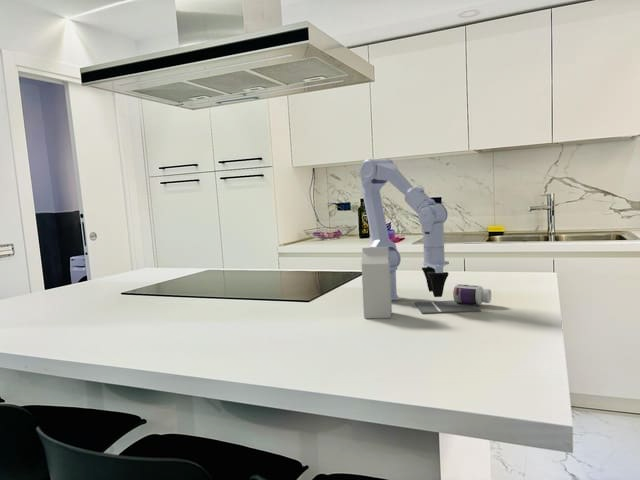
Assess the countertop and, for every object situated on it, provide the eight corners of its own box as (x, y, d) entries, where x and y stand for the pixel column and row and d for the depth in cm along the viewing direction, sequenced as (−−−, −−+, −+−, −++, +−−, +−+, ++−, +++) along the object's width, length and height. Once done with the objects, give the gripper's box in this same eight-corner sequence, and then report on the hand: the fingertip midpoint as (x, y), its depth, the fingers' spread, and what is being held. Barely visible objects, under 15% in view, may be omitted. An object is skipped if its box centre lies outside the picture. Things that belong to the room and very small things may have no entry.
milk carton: (390, 318, 133) (387, 248, 131) (363, 318, 134) (360, 249, 133) (391, 312, 140) (389, 245, 138) (366, 312, 141) (363, 246, 140)
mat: (422, 313, 136) (422, 312, 136) (414, 303, 149) (414, 301, 149) (480, 311, 136) (480, 309, 136) (468, 301, 148) (468, 299, 148)
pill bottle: (455, 306, 145) (488, 309, 140) (451, 293, 142) (485, 295, 137) (460, 293, 149) (493, 296, 143) (456, 280, 146) (490, 282, 140)
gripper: (453, 249, 133) (455, 298, 135) (442, 243, 148) (444, 288, 149) (427, 250, 134) (429, 299, 135) (418, 244, 148) (420, 289, 149)
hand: (435, 293), depth 142 cm, fingers open, 7 cm apart
